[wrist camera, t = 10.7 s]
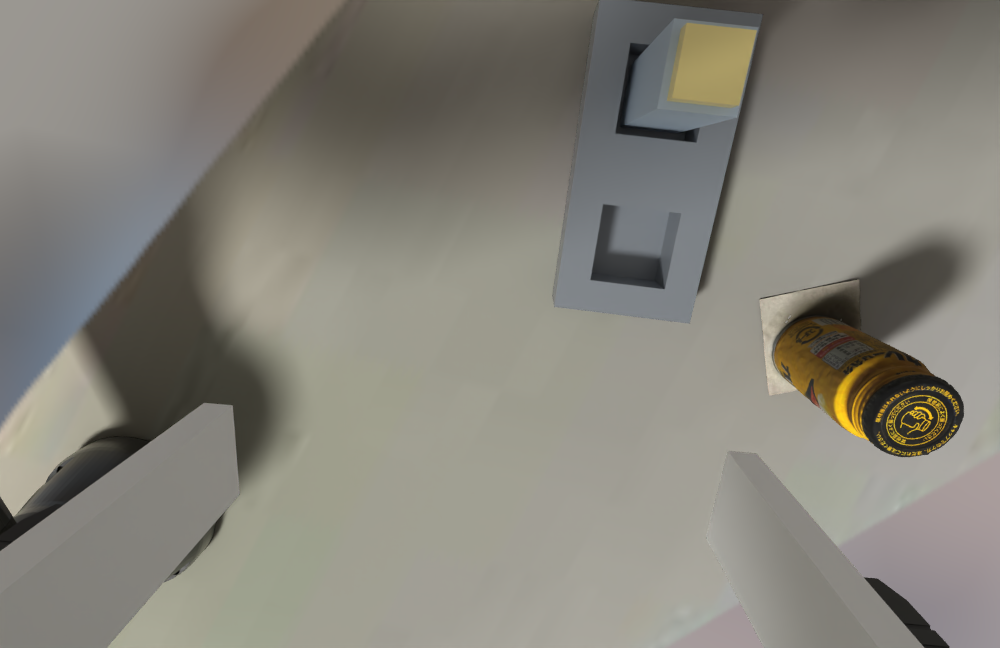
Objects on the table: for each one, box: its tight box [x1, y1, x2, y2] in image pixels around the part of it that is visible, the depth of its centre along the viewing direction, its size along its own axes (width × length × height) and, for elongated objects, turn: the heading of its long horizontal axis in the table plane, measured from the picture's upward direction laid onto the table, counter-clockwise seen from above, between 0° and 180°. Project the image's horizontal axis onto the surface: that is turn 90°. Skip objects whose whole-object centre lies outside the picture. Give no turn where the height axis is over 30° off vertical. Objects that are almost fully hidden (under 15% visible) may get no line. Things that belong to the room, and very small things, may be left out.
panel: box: [552, 0, 763, 323], centre depth 35 cm, size 10×20×4 cm, turn 174°
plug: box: [620, 18, 759, 134], centre depth 29 cm, size 4×4×12 cm
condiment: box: [760, 280, 964, 457], centre depth 34 cm, size 7×8×12 cm
